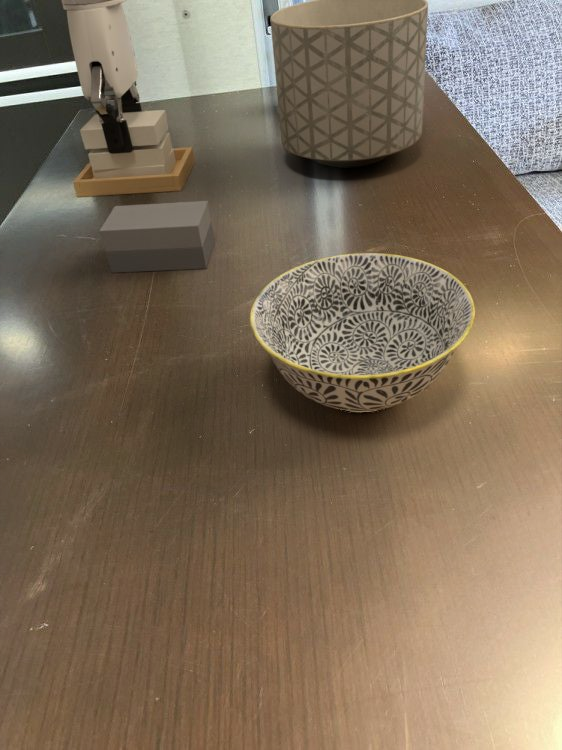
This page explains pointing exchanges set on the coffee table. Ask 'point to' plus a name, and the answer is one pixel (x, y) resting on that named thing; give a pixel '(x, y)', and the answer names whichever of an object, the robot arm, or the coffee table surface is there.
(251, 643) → the coffee table surface
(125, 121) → the robot arm
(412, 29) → the planter
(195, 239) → the grey rectangular block
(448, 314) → the bowl
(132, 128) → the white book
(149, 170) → the taupe rectangular block
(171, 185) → the shallow wooden box
